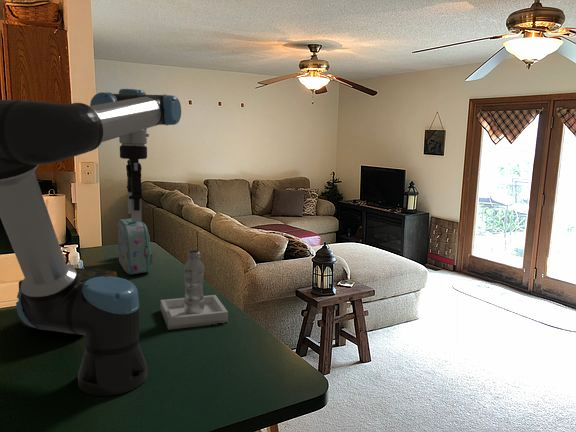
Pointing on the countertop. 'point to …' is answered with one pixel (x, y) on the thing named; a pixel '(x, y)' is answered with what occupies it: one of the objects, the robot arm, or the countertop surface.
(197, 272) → the plastic bottle
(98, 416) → the countertop surface
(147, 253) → the lunch box
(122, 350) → the robot arm
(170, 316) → the tray
